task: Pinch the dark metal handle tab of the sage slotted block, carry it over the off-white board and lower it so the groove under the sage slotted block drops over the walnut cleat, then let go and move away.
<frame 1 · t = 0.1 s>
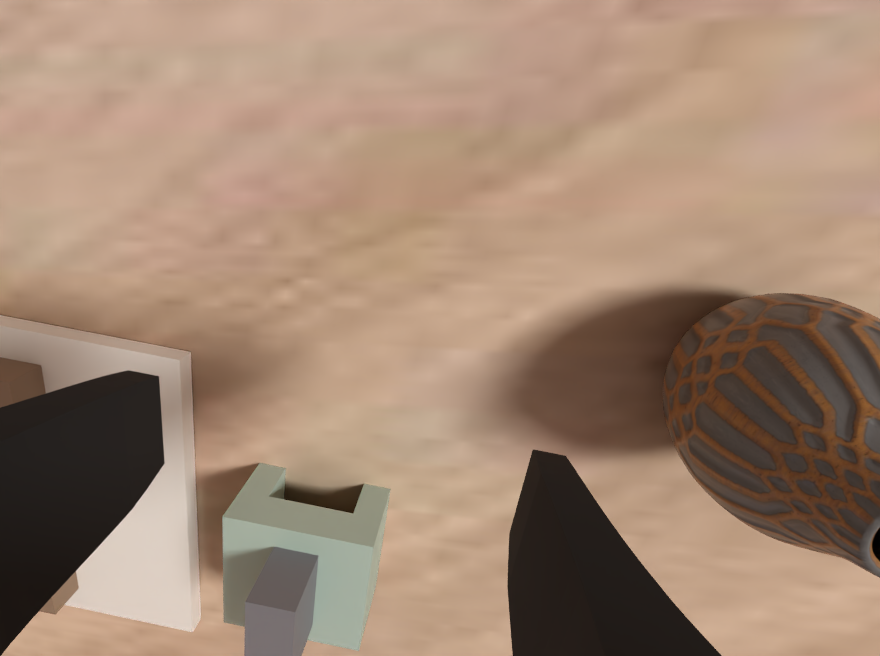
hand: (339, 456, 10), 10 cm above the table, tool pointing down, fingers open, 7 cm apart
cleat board: (55, 473, 24), on the table
vase: (736, 358, 19), on the table
sage slotted block: (320, 526, 24), on the table
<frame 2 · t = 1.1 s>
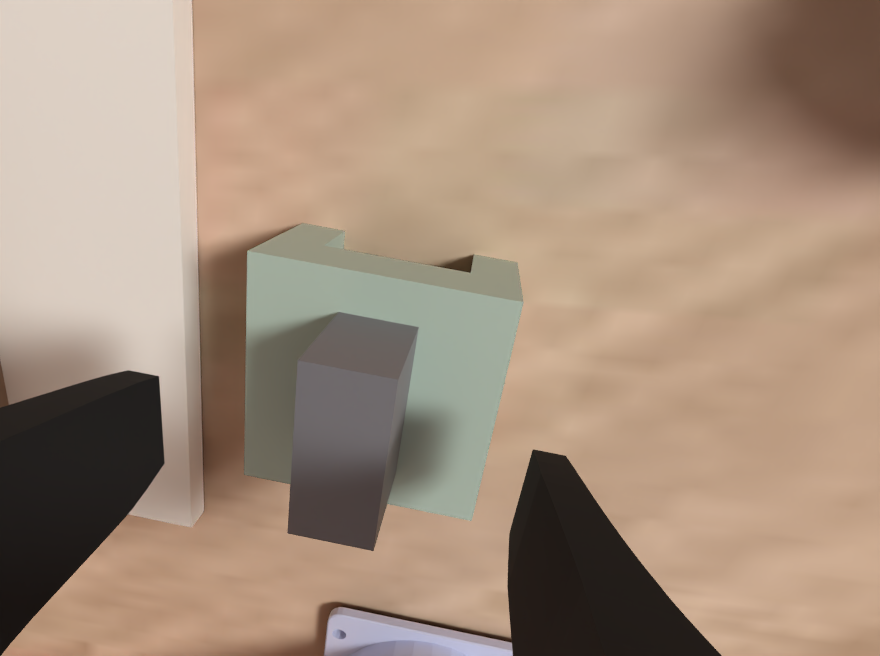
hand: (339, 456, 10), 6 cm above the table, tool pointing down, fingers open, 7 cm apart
sage slotted block: (395, 340, 15), on the table
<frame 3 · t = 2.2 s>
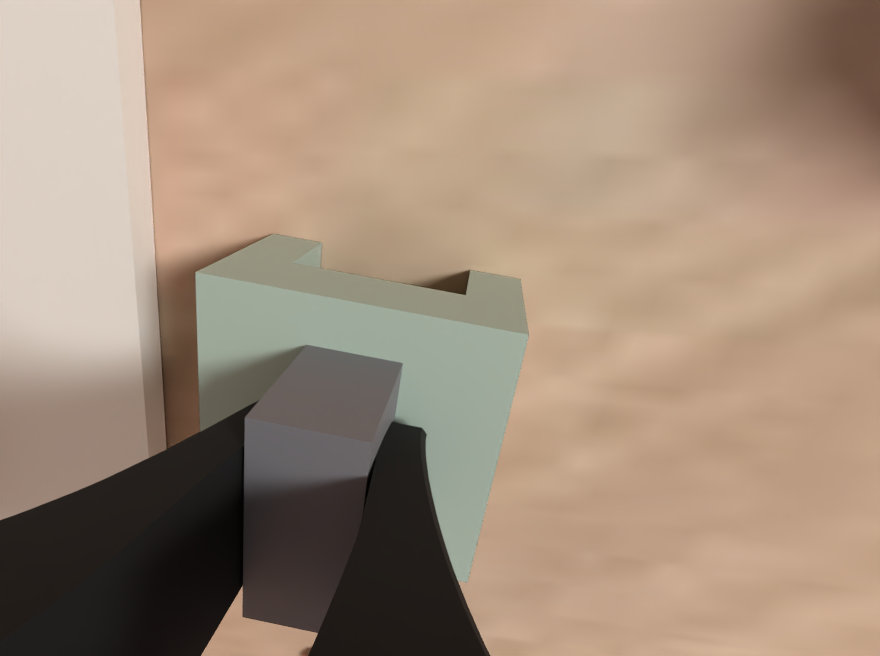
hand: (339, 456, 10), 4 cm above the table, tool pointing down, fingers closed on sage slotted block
sage slotted block: (381, 367, 13), on the table, touching gripper
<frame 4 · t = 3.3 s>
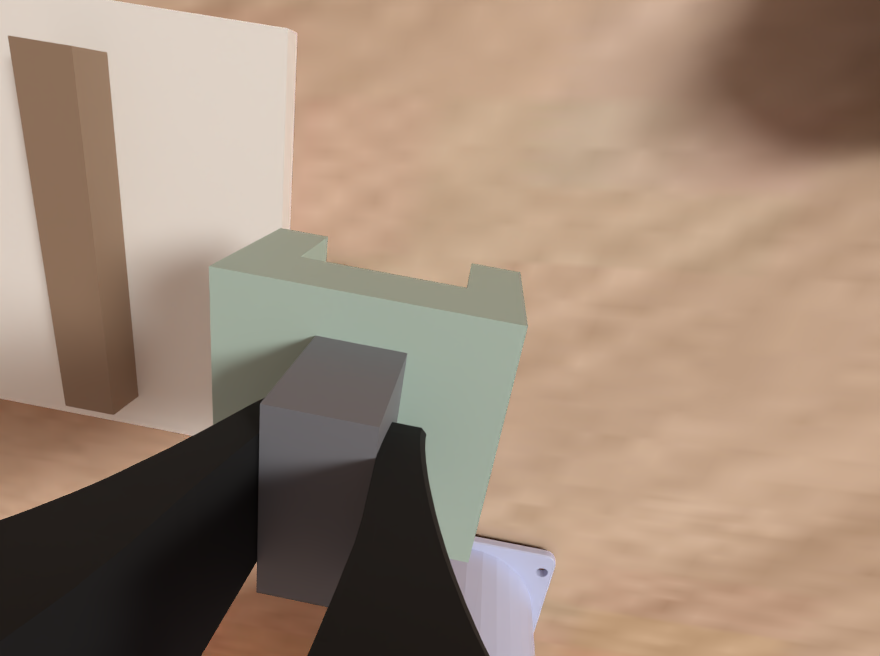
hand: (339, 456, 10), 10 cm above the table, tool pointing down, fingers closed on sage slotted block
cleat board: (114, 237, 20), on the table
sage slotted block: (385, 357, 14), point 6 cm above the table, touching gripper
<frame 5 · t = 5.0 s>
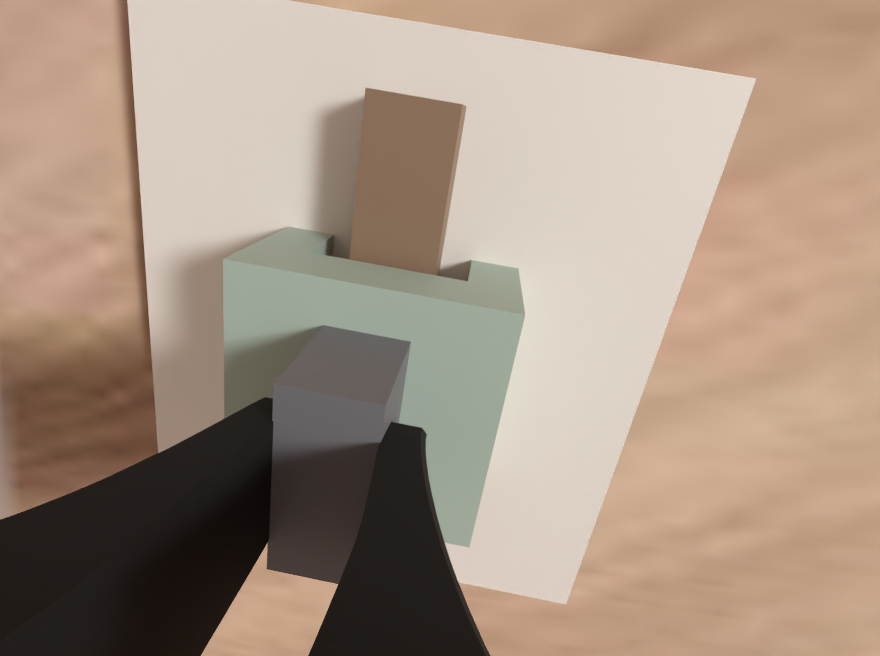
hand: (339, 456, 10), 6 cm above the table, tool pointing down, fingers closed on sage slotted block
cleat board: (395, 340, 15), on the table
sage slotted block: (388, 351, 14), point 1 cm above the table, touching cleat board, gripper
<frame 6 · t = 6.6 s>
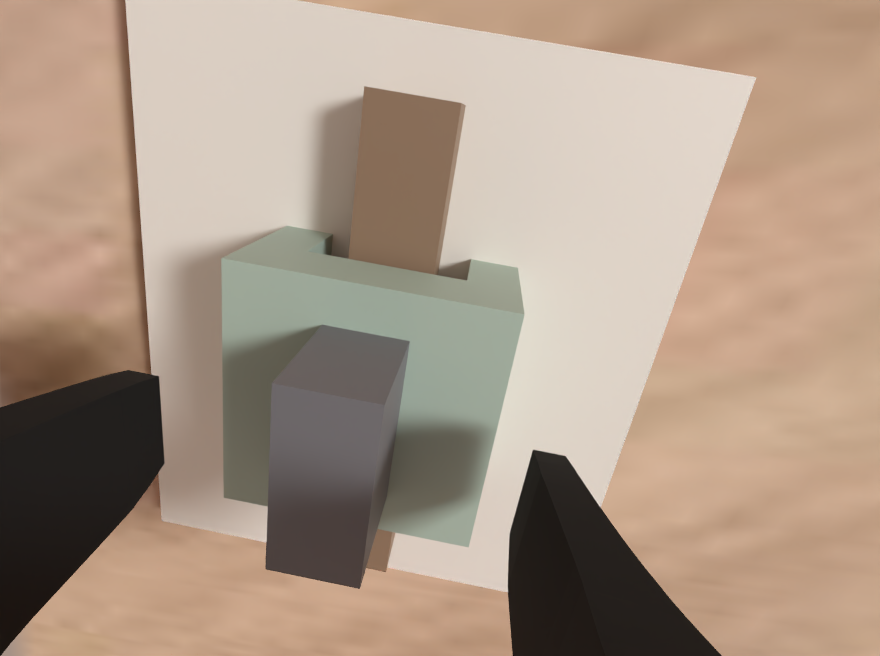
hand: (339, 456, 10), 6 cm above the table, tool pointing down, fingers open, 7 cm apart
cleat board: (394, 340, 15), on the table
sage slotted block: (387, 351, 14), point 1 cm above the table, touching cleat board
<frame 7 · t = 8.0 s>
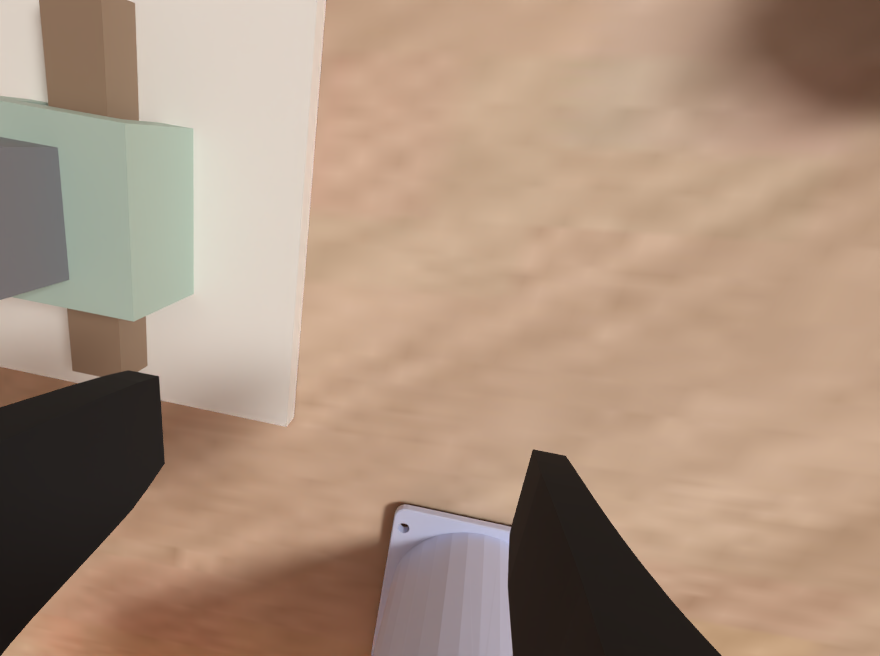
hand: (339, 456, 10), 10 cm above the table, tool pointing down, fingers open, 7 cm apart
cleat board: (131, 199, 19), on the table
sage slotted block: (115, 201, 19), point 1 cm above the table, touching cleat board
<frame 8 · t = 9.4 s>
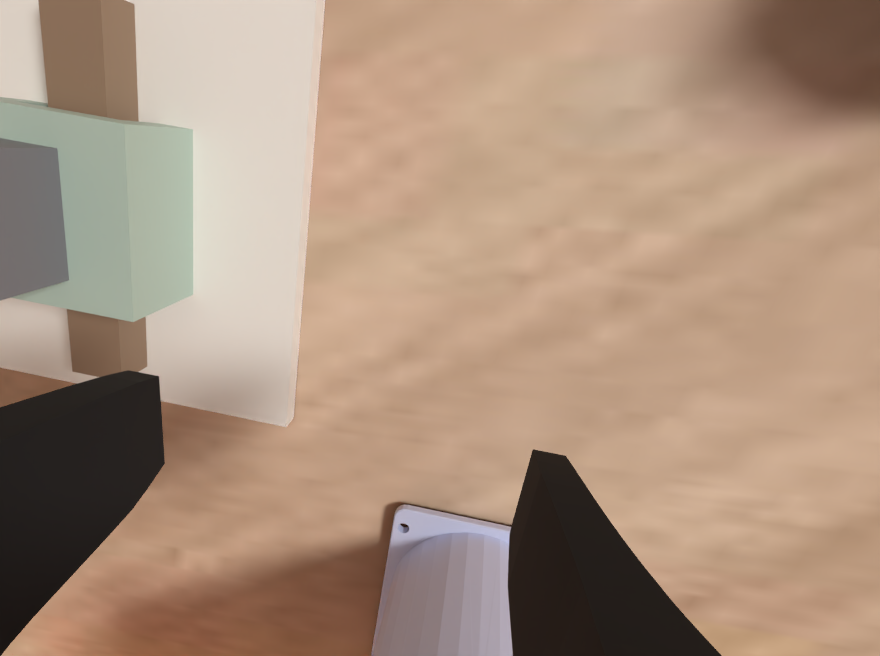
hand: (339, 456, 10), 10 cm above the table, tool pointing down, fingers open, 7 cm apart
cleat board: (130, 199, 19), on the table
sage slotted block: (115, 201, 19), point 1 cm above the table, touching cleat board
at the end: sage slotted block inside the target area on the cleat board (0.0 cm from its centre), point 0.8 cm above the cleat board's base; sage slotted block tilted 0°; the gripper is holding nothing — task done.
